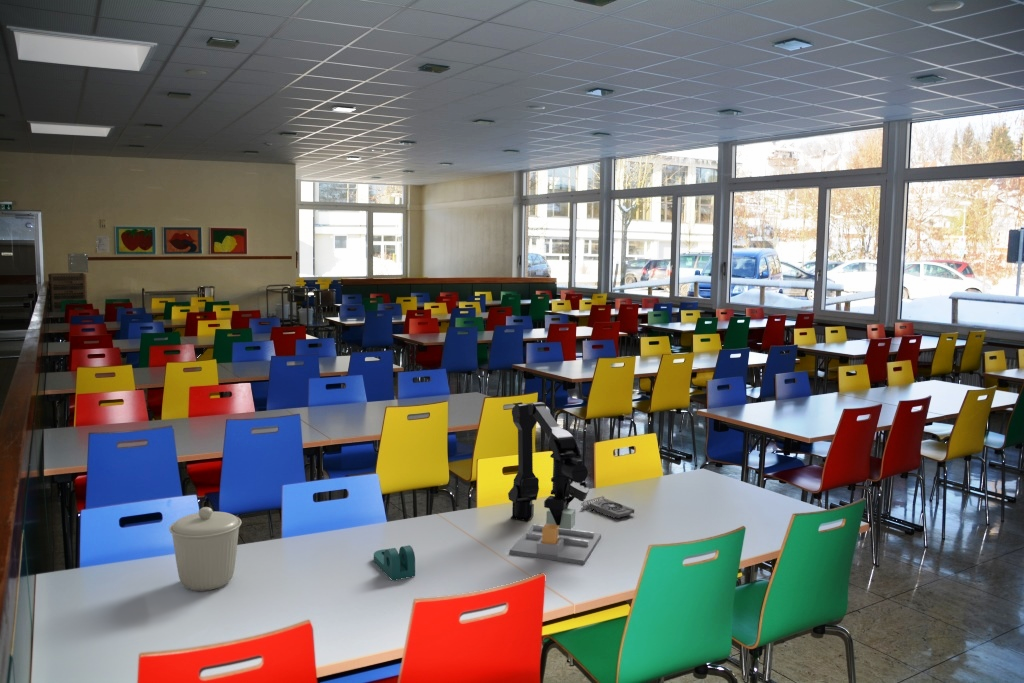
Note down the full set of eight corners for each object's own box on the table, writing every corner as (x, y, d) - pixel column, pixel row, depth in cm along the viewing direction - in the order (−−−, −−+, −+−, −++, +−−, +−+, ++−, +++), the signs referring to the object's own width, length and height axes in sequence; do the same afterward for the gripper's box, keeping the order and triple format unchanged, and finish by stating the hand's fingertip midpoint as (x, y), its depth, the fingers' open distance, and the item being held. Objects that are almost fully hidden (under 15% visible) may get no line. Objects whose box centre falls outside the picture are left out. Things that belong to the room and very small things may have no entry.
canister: (188, 568, 224) (186, 496, 222) (252, 571, 224) (251, 498, 221) (158, 596, 206) (156, 517, 204) (227, 598, 206) (225, 520, 204)
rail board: (509, 553, 241) (510, 540, 240) (532, 528, 263) (533, 515, 263) (584, 564, 234) (584, 550, 233) (601, 537, 256) (601, 524, 256)
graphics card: (579, 501, 284) (603, 494, 291) (578, 511, 284) (602, 504, 291) (613, 514, 270) (637, 507, 278) (613, 525, 271) (637, 517, 278)
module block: (546, 526, 251) (546, 510, 250) (550, 521, 256) (551, 506, 255) (570, 529, 248) (571, 514, 248) (574, 524, 253) (575, 509, 252)
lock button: (542, 543, 239) (542, 527, 239) (545, 539, 243) (546, 523, 243) (554, 545, 238) (555, 529, 238) (558, 541, 242) (558, 525, 241)
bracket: (415, 577, 223) (415, 550, 222) (392, 581, 219) (392, 554, 218) (392, 555, 238) (392, 529, 237) (370, 559, 235) (370, 533, 234)
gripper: (580, 485, 239) (578, 535, 240) (593, 469, 256) (591, 516, 258) (544, 481, 242) (542, 530, 244) (560, 465, 260) (558, 512, 262)
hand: (560, 522), depth 252 cm, fingers closed on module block, 5 cm apart
